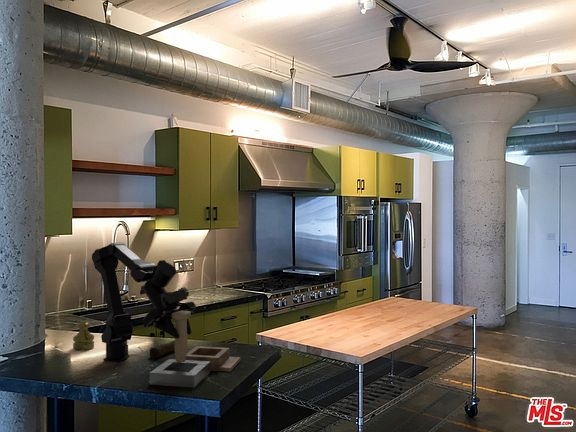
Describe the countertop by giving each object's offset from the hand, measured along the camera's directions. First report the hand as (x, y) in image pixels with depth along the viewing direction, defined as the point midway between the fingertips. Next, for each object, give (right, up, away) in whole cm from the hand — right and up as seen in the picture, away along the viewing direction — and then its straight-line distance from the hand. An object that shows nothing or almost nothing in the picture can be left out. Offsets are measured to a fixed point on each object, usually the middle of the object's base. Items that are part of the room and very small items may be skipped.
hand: (184, 335), depth 152 cm
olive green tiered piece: (-45, -13, +34) cm, 58 cm away
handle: (-1, -8, +1) cm, 8 cm away
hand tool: (-12, -14, +30) cm, 35 cm away
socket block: (-1, -13, +1) cm, 13 cm away
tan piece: (+4, -13, +15) cm, 20 cm away
